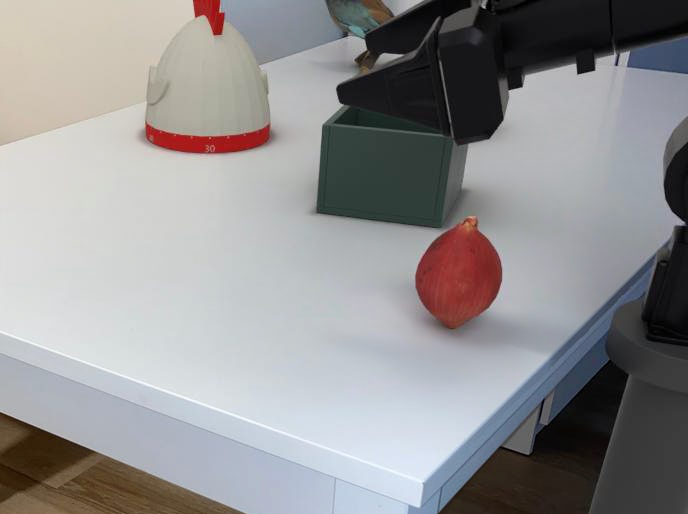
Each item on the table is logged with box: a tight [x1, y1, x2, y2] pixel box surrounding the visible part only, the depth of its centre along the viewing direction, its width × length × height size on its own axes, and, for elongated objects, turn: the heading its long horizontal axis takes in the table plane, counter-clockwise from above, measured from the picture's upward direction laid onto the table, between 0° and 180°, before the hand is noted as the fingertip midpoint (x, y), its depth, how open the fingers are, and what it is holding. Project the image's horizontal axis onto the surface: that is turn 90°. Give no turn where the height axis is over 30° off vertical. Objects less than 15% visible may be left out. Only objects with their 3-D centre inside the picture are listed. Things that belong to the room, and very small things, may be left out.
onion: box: [414, 215, 503, 329], centre depth 69 cm, size 6×6×8 cm
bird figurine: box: [324, 0, 396, 74], centre depth 134 cm, size 13×10×20 cm
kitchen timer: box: [144, 0, 271, 154], centre depth 106 cm, size 14×14×15 cm
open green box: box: [315, 104, 470, 229], centre depth 91 cm, size 11×11×8 cm
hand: (352, 67), depth 64 cm, fingers open, 9 cm apart
